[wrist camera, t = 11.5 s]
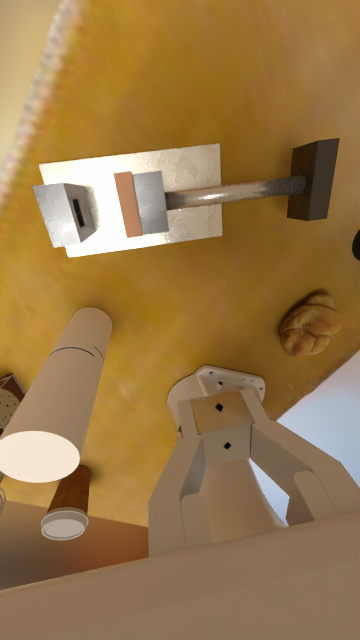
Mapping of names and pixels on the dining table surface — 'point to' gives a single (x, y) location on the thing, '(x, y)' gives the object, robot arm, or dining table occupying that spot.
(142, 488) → the dining table surface
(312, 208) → the shaft
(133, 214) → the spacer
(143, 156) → the shaft frame
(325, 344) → the bread roll
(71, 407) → the cylindrical container
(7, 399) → the food container
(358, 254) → the wine bottle
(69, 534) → the disposable coffee cup
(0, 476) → the french press
